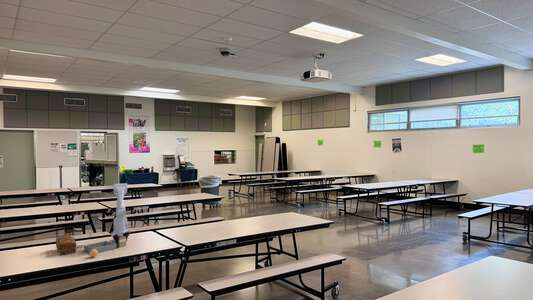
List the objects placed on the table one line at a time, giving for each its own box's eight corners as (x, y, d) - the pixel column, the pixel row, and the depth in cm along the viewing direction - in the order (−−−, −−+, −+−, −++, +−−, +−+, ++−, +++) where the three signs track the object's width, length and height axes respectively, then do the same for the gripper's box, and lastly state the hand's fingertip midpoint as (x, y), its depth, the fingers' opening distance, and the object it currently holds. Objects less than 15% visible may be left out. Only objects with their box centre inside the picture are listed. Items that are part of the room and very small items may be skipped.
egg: (87, 257, 226) (87, 249, 226) (95, 255, 230) (95, 247, 230) (91, 258, 223) (91, 250, 223) (99, 256, 227) (99, 249, 227)
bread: (55, 249, 244) (55, 235, 244) (72, 247, 251) (72, 233, 251) (58, 256, 230) (58, 241, 230) (76, 253, 236) (76, 238, 236)
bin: (84, 250, 242) (84, 245, 242) (106, 245, 255) (106, 240, 255) (94, 253, 233) (94, 248, 233) (116, 248, 247) (116, 243, 247)
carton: (115, 246, 252) (115, 236, 252) (122, 245, 256) (122, 235, 256) (119, 247, 249) (119, 237, 249) (126, 246, 253) (126, 236, 253)
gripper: (114, 227, 244) (114, 247, 244) (133, 224, 256) (133, 242, 256) (109, 226, 248) (109, 245, 248) (127, 223, 260) (127, 241, 260)
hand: (120, 244), depth 252 cm, fingers open, 6 cm apart
